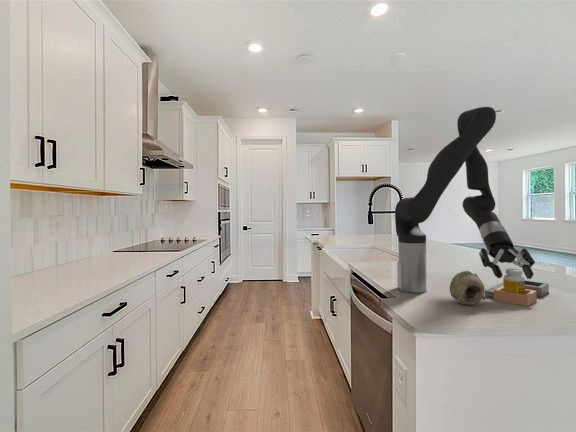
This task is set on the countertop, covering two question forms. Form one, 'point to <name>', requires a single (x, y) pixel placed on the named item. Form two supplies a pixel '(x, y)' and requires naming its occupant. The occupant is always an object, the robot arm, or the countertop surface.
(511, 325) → the countertop surface
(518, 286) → the supplement bottle
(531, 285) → the rail
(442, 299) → the countertop surface
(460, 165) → the robot arm
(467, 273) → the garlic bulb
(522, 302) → the marked socket
